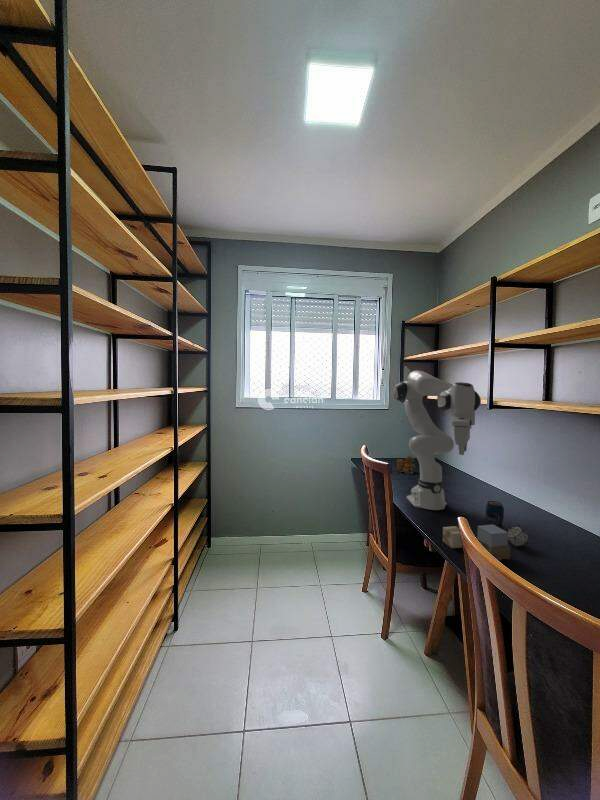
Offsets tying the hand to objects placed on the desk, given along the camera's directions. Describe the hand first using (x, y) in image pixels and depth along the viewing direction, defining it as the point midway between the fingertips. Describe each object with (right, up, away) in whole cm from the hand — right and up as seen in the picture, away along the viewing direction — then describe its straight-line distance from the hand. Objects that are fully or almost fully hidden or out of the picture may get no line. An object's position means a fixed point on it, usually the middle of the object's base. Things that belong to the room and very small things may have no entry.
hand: (462, 452), depth 133 cm
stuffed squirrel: (+11, -33, +104) cm, 109 cm away
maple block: (-6, -37, -4) cm, 38 cm away
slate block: (+4, -32, -13) cm, 35 cm away
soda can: (+19, -36, +9) cm, 42 cm away
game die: (+19, -37, -6) cm, 42 cm away
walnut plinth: (+4, -37, -13) cm, 39 cm away
